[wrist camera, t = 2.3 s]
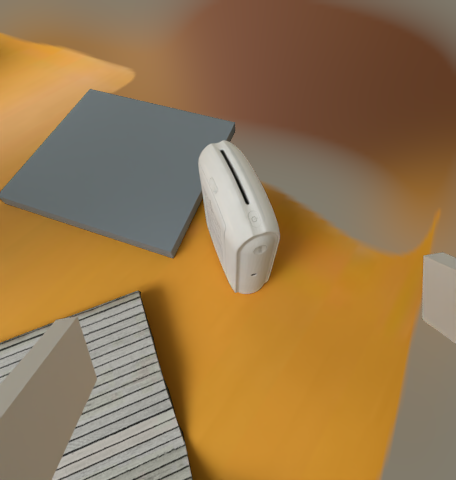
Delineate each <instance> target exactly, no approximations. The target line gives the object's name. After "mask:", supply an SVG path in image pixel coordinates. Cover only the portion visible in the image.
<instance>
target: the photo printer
mask: <svg viewBox="0 0 456 480" xmlns="http://www.w3.org/2000/svg"><path fill="white" fill-rule="evenodd" d="M198 167H199V175H200V181H201V187H202V194H203V201H204V208H205V215H206V221H207V226H208V229H209V232H210V235H211V238H212V241H213V244H214V247H215V249H216V252H217V255H218V257H219V260H220V262H221V265H222V267H223V270H224V272H225V275H226V277H227V279H228V282H229V284H230V285H231V287H232V289H233V290H234V292H235V293H237V292H239V293H243V294H251V293H254V292H256V291H258V290H259V289H260V288H261V287H262V286H263V284H264V283H266V282H267V281H268V280H269V277H270V273H271V270H272V266H273V263H274V259H275V255H276V252H277V248H278V244H279V241H280V232H279V227H278V222H277V219H276V216H275V214H274V211H273V208H272V206H271V203H270V201H269V199H268V196H267V194H266V192H265V190H264V188H263V186H262V184H261V182H260V180H259V178H258V176H257V175H256V173H255V171H254V169H253V168H252V166H251V164H250V163H249V161H248V160H247V158H246V157H245V156H244V154H243V153H242V152H241V151H240V149H238V148H237V147H236V146H235V145H234V144H232V143H231V142H229V141H225V140H223V141H221V142H219V143H211V144H209V145H208V146H206V147H205V149H204V150H203V151H202V152H201V154H200V157H199V160H198Z"/></svg>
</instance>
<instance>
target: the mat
mask: <svg viewBox="0 0 456 480" xmlns="http://www.w3.org/2000/svg"><path fill="white" fill-rule="evenodd" d="M140 293H141V292H140V291H135V292H133V293H130V294H128V295H125V296H123V297H120V298H117V299H115V300H112V301H109V302H107V303H104V304H101V305H99V306H96V307H93V308H91V309H88V310H85V311H83V312H80V313H77V314H75V315H72V316H69V317H66V318H70V317H76V316H78V319H79V323H80V326H81V329H82V332H83V335H84V339H85V342H86V345H87V348H88V351H89V354H90V358H91V361H92V364H93V367H94V370H95V373H96V377H97V381H96V383H95V385H94V388H93V390H92V392H91V394H90V396H89V399H88V401H87V403H86V405H85V407H84V410H83V412H82V414H81V416H80V418H79V421H78V423H77V425H76V427H75V429H74V432H73V434H72V436H71V438H70V440H69V443H68V445H67V447H66V449H65V451H64V454H63V456H62V458H61V460H60V462H59V465H58V467H57V469H56V471H55V473H54V476H53V478H52V480H193V478H192V473H191V469H190V464H189V459H188V455H187V450H186V445H185V440H184V436H183V432H182V430H181V428H180V426H179V424H178V422H177V420H176V416H175V411H174V407H173V404H172V400H171V396H170V393H169V389H168V387H167V385H166V382H165V380H164V378H163V375H162V371H161V368H160V364H159V361H158V357H157V353H156V348H155V344H154V339H153V336H152V332H151V329H150V326H149V323H148V320H147V317H146V314H145V310H144V307H143V303H142V299H141V295H140ZM53 323H54V322H53ZM53 323H51V324H48V325H45V326H43V327H40V328H38V329H35V330H32V331H30V332H27V333H25V334H22V335H19V336H17V337H14V338H12V339H9V340H6V341H4V342H1V343H0V384H1V383H2V382H3V381H4V379H5V378H6V377H7V376H8V375H9V374H10V372H11V371H12V370H13V369H14V368H15V367H16V366H17V364H18V363H19V362H20V361H21V360H22V359H23V358H24V356H25V355H26V354H27V353H28V352H29V351H30V349H31V348H32V347H33V346H34V345H35V344H36V343H37V341H38V340H39V339H40V338H41V337H42V336H43V334H44V333H45V332H46V331H47V330H48V329H49V328H50V326H51V325H52V324H53Z"/></svg>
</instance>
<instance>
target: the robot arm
mask: <svg viewBox="0 0 456 480" xmlns="http://www.w3.org/2000/svg"><path fill="white" fill-rule="evenodd" d="M422 320H424V321H425V322H426V323H428V324H429V325H430V326H432V327H433V328H435V329H436V330H437V331H439V332H440V333H441V334H443V335H444V336H445V337H447V338H448V339H450V340H451V341H452V342H454V343H455V344H456V258H455V257H453V256H451V255H448V254H446V253H443V252H442V253H437V254H430V255H424V259H423V297H422ZM96 381H97V377H96V373H95V370H94V367H93V364H92V361H91V358H90V354H89V351H88V348H87V345H86V342H85V339H84V335H83V332H82V329H81V326H80V323H79V319H78V316H76V317H70V318H64V319H59V320H56V321H55V322H54V323H53V324H52V325H51V326H50V328H49V329H48V330H47V331H46V332H45V333H44V334H43V336H42V337H41V338H40V339H39V340H38V341H37V343H36V344H35V345H34V346H33V347H32V348H31V349H30V351H29V352H28V353H27V354H26V355H25V356H24V358H23V359H22V360H21V361H20V362H19V363H18V364H17V366H16V367H15V368H14V369H13V370H12V371H11V372H10V374H9V375H8V376H7V377H6V378H5V379H4V381H3V382H2V383H1V384H0V480H52V478H53V476H54V473H55V471H56V469H57V467H58V465H59V462H60V460H61V458H62V456H63V454H64V451H65V449H66V447H67V445H68V443H69V440H70V438H71V436H72V434H73V432H74V429H75V427H76V425H77V423H78V421H79V418H80V416H81V414H82V412H83V410H84V407H85V405H86V403H87V401H88V399H89V396H90V394H91V392H92V390H93V388H94V385H95V383H96Z"/></svg>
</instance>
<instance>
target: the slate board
mask: <svg viewBox="0 0 456 480" xmlns="http://www.w3.org/2000/svg"><path fill="white" fill-rule="evenodd" d="M234 133H235V122H230V121H226V120H222V119H217V118H213V117H209V116H204V115H200V114H196V113H191V112H187V111H183V110H178V109H174V108H170V107H165V106H161V105H157V104H153V103H148V102H144V101H139V100H135V99H131V98H127V97H122V96H118V95H114V94H109V93H105V92H101V91H96V90H92V89H90V90H89V91H88V92H87V93H86V94H85V95H84V97H83V98H82V99H81V100H80V101H79V102H78V103H77V105H76V106H75V107H74V108H73V109H72V110H71V111H70V113H69V114H68V115H67V116H66V117H65V118H64V119H63V121H62V122H61V123H60V124H59V125H58V126H57V127H56V129H55V130H54V131H53V132H52V133H51V134H50V135H49V137H48V138H47V139H46V140H45V141H44V142H43V144H42V145H41V146H40V147H39V148H38V149H37V150H36V152H35V153H34V154H33V155H32V156H31V157H30V158H29V160H28V161H27V162H26V163H25V164H24V165H23V166H22V168H21V169H20V170H19V171H18V172H17V173H16V174H15V176H14V177H13V178H12V179H11V180H10V181H9V182H8V184H7V185H6V186H5V187H4V188H3V189H2V190H1V192H0V199H1V200H2V201H3V202H4V203H5V204H8V205H11V206H14V207H18V208H21V209H24V210H27V211H30V212H33V213H36V214H39V215H42V216H45V217H48V218H51V219H54V220H57V221H60V222H63V223H66V224H70V225H73V226H76V227H79V228H82V229H85V230H88V231H91V232H94V233H97V234H100V235H103V236H106V237H109V238H112V239H115V240H118V241H121V242H125V243H128V244H131V245H134V246H137V247H140V248H143V249H146V250H149V251H152V252H155V253H158V254H161V255H164V256H167V257H170V258H174V256H175V254H176V252H177V250H178V248H179V246H180V244H181V242H182V240H183V238H184V236H185V233H186V231H187V229H188V227H189V225H190V223H191V221H192V219H193V217H194V215H195V213H196V211H197V209H198V207H199V205H200V203H201V201H202V199H203V194H202V187H201V181H200V175H199V167H198V160H199V157H200V154H201V152H202V151H203V150H204V149H205V147H206V146H208V145H209V144H211V143H219V142H221V141H223V140H225V141H229V142H230V141H231V139H232V137H233V135H234Z"/></svg>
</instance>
